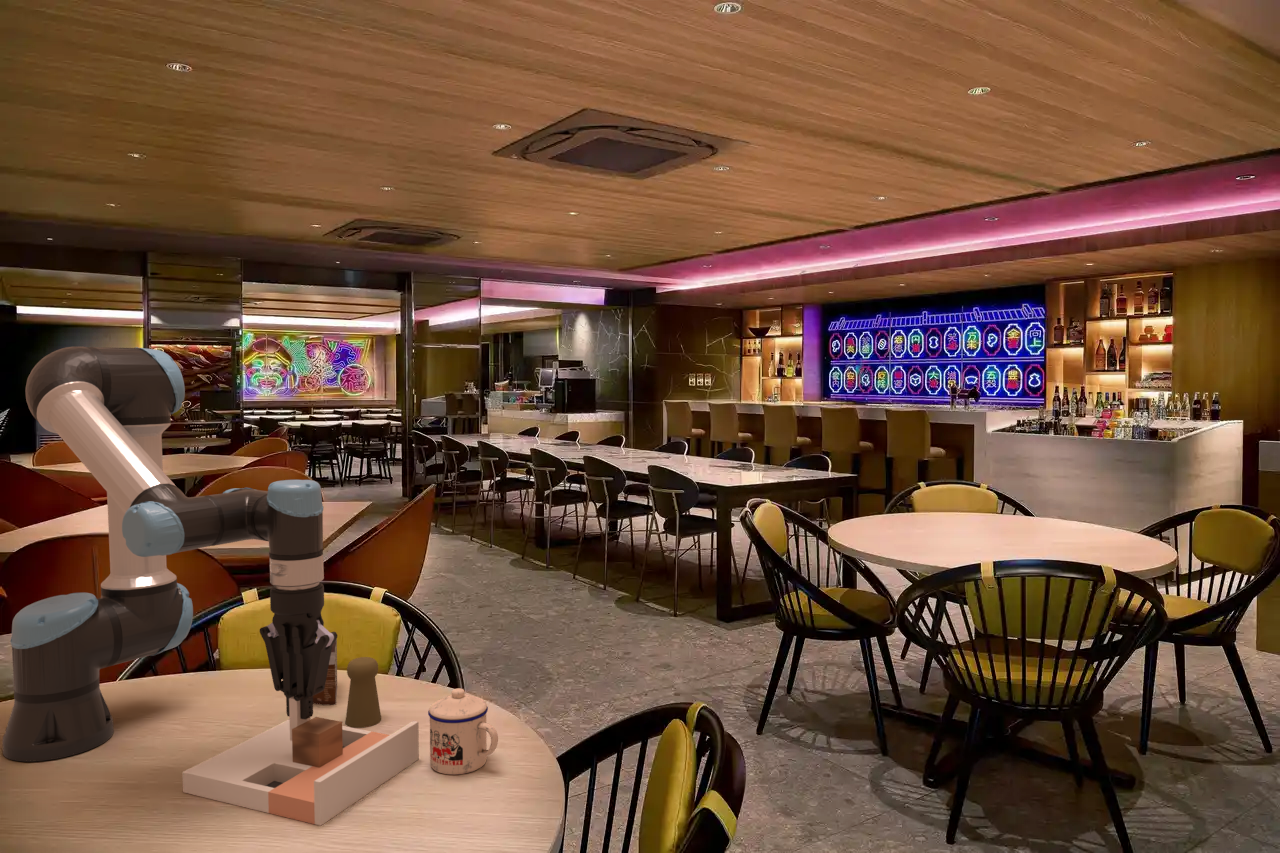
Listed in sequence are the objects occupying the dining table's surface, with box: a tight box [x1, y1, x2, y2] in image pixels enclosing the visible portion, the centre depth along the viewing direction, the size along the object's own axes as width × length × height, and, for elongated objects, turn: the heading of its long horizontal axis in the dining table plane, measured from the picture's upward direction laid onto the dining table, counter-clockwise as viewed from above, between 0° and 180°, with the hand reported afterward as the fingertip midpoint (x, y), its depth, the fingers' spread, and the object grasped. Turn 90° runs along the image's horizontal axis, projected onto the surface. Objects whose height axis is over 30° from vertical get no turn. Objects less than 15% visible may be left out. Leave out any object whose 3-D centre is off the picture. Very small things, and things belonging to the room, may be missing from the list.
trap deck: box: [181, 718, 420, 827], centre depth 133 cm, size 25×22×6 cm
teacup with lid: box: [427, 687, 499, 775], centre depth 136 cm, size 12×9×12 cm
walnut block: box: [292, 716, 343, 768], centre depth 132 cm, size 5×5×5 cm
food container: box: [313, 638, 338, 706], centre depth 164 cm, size 12×6×10 cm, turn 17°
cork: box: [344, 656, 382, 729], centre depth 153 cm, size 6×6×11 cm
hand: (300, 737), depth 133 cm, fingers closed
